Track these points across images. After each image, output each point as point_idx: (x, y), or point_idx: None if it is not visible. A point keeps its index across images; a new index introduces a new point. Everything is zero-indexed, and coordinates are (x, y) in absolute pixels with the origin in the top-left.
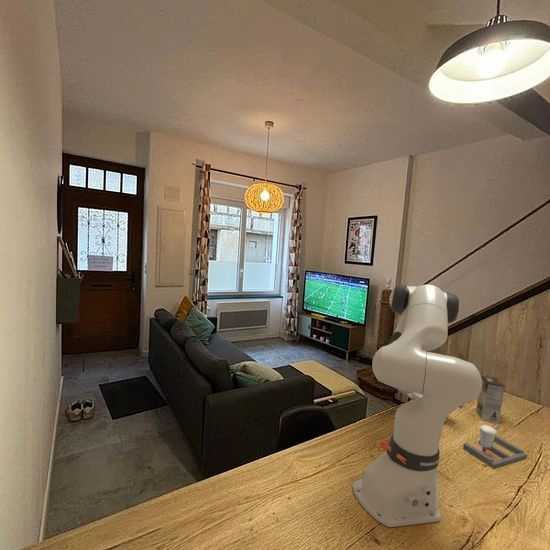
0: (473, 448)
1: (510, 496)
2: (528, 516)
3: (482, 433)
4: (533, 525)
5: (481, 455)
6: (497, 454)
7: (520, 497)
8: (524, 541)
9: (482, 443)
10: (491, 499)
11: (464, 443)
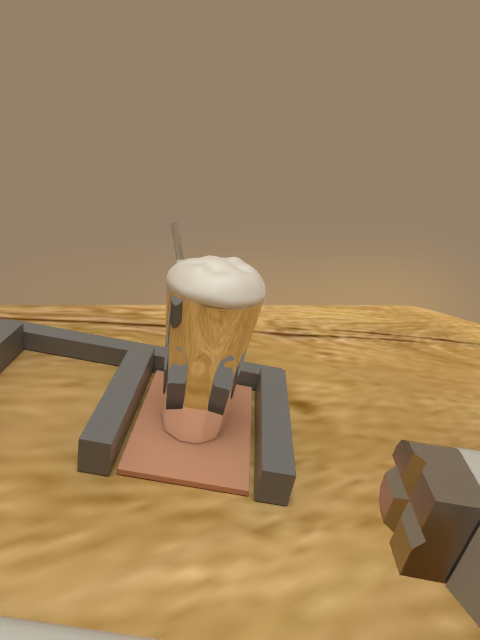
0: (277, 430)
1: (362, 341)
2: (379, 319)
3: (257, 316)
4: (393, 314)
5: (287, 399)
6: (143, 387)
7: (332, 330)
8: (456, 320)
9: (238, 374)
10: (442, 361)
11: (288, 474)
